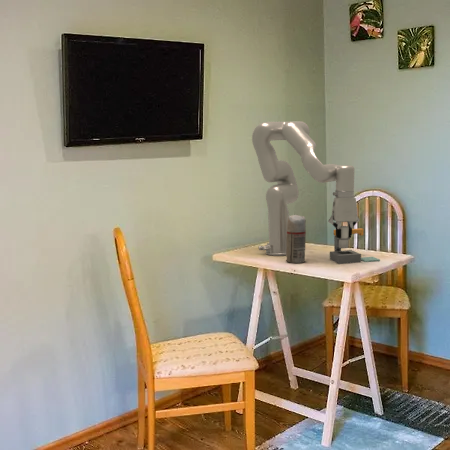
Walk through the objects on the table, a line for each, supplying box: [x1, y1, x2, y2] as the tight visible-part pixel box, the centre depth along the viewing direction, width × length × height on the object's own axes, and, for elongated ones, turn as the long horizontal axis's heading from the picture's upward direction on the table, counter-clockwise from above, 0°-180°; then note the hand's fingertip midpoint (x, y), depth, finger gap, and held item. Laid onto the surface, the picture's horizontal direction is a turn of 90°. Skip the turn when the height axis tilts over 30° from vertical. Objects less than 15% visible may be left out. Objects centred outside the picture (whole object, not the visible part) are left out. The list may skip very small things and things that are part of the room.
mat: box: [361, 256, 381, 263], centre depth 285 cm, size 7×7×1 cm
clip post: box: [333, 235, 342, 251], centre depth 292 cm, size 5×5×10 cm
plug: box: [338, 225, 351, 249], centre depth 283 cm, size 5×5×9 cm
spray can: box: [285, 214, 307, 264], centre depth 284 cm, size 8×8×20 cm
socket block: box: [329, 249, 362, 265], centre depth 284 cm, size 10×10×4 cm
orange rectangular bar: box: [333, 227, 364, 236], centre depth 292 cm, size 14×4×3 cm, turn 107°
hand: (343, 236), depth 283 cm, fingers closed on plug, 4 cm apart
